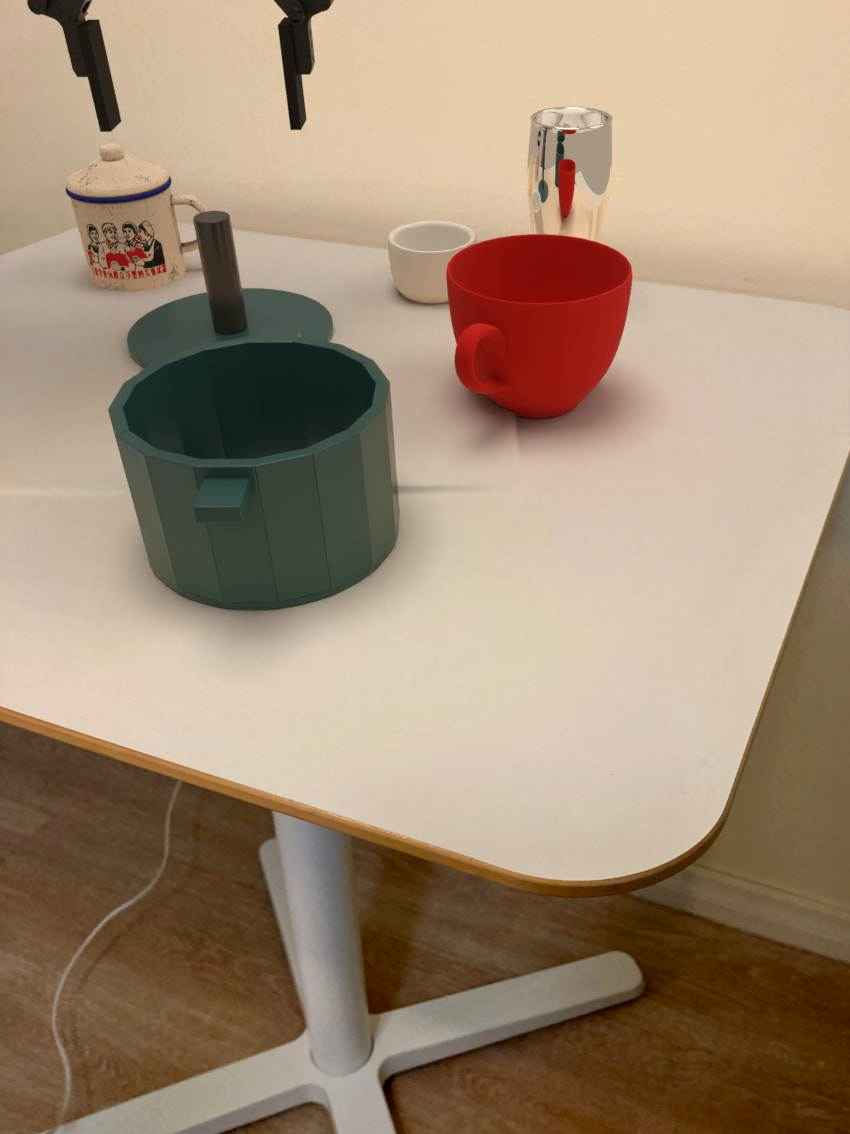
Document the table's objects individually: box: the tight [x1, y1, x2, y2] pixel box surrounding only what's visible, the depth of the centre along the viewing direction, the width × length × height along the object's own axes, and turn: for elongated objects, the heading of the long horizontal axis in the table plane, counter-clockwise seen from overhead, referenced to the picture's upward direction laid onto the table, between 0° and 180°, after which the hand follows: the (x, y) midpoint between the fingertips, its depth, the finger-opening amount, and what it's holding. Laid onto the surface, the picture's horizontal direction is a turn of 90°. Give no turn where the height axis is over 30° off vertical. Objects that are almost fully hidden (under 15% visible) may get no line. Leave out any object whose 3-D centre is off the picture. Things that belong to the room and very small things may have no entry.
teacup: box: [387, 220, 478, 305], centre depth 92 cm, size 10×8×5 cm
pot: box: [107, 329, 400, 611], centre depth 62 cm, size 16×21×10 cm
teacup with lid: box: [65, 142, 210, 292], centre depth 94 cm, size 12×9×12 cm
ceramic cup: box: [446, 233, 633, 419], centre depth 74 cm, size 13×17×10 cm
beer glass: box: [526, 106, 614, 243], centre depth 87 cm, size 7×7×15 cm
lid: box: [126, 210, 334, 369], centre depth 83 cm, size 17×17×10 cm
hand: (204, 126), depth 75 cm, fingers open, 13 cm apart
